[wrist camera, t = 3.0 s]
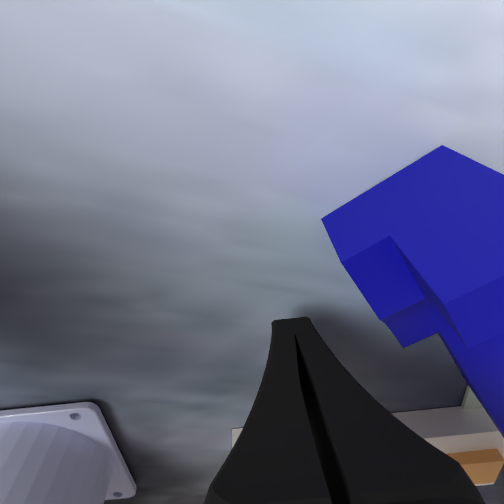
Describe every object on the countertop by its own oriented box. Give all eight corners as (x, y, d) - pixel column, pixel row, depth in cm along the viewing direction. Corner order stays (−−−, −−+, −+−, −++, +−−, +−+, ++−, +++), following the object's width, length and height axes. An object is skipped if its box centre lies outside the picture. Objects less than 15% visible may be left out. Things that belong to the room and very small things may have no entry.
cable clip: (320, 218, 13) (374, 337, 7) (441, 145, 11) (607, 224, 6) (438, 396, 18) (519, 541, 12) (531, 358, 16) (664, 501, 11)
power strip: (242, 480, 21) (243, 521, 19) (232, 429, 18) (232, 470, 17) (477, 457, 21) (500, 495, 19) (499, 402, 18) (528, 440, 17)
